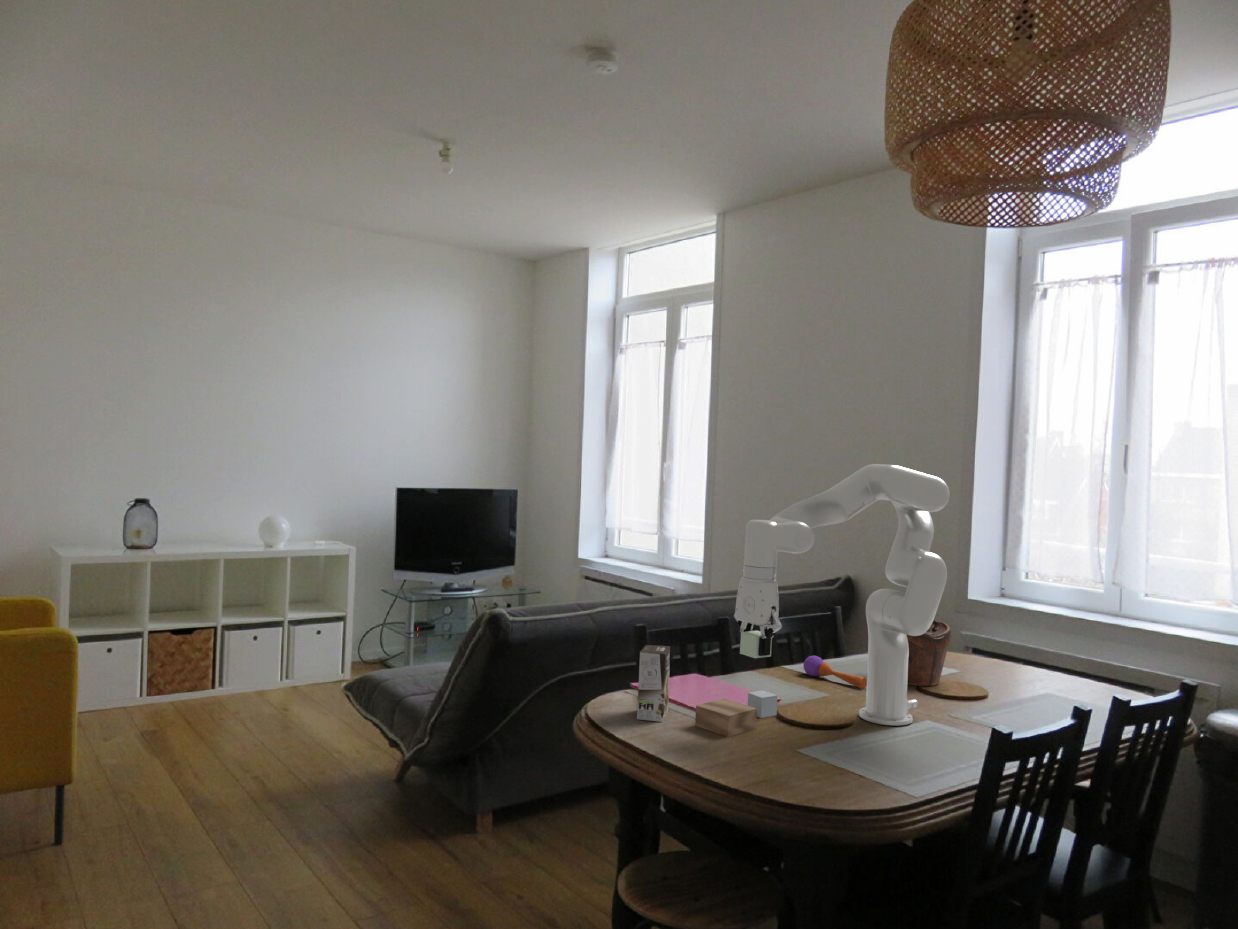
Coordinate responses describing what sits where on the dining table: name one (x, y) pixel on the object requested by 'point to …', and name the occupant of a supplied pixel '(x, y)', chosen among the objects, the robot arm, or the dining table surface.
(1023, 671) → the dining table surface
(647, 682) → the coffee box
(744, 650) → the sage block
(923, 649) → the brown plant pot
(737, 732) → the walnut base block
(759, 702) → the slate block
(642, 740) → the dining table surface
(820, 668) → the purple and orange maraca
